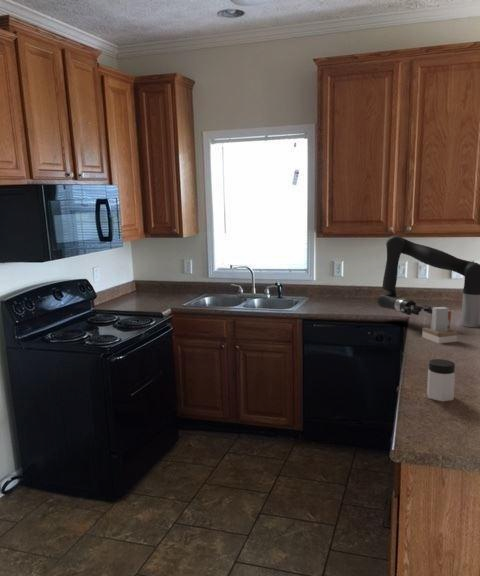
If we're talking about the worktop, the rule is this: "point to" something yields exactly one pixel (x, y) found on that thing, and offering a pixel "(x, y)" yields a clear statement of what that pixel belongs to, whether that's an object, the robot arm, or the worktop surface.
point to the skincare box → (439, 319)
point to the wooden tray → (439, 336)
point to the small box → (448, 321)
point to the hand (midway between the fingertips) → (425, 312)
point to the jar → (441, 380)
